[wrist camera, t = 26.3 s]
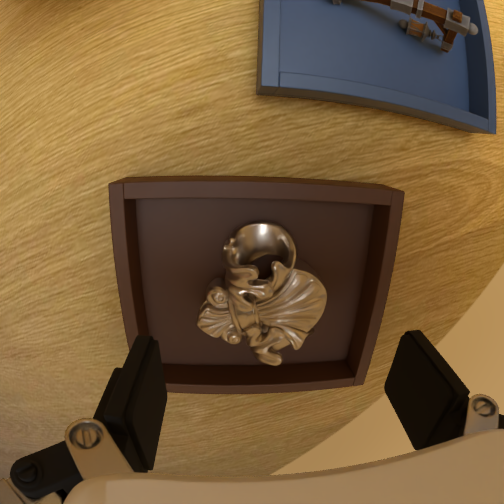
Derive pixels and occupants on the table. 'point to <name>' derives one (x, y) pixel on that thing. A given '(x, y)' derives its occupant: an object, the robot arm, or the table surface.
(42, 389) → the table surface
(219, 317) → the ornament
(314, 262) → the walnut tray
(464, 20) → the wooden post with brackets
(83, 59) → the table surface
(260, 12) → the blue tray
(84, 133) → the table surface
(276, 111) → the table surface
